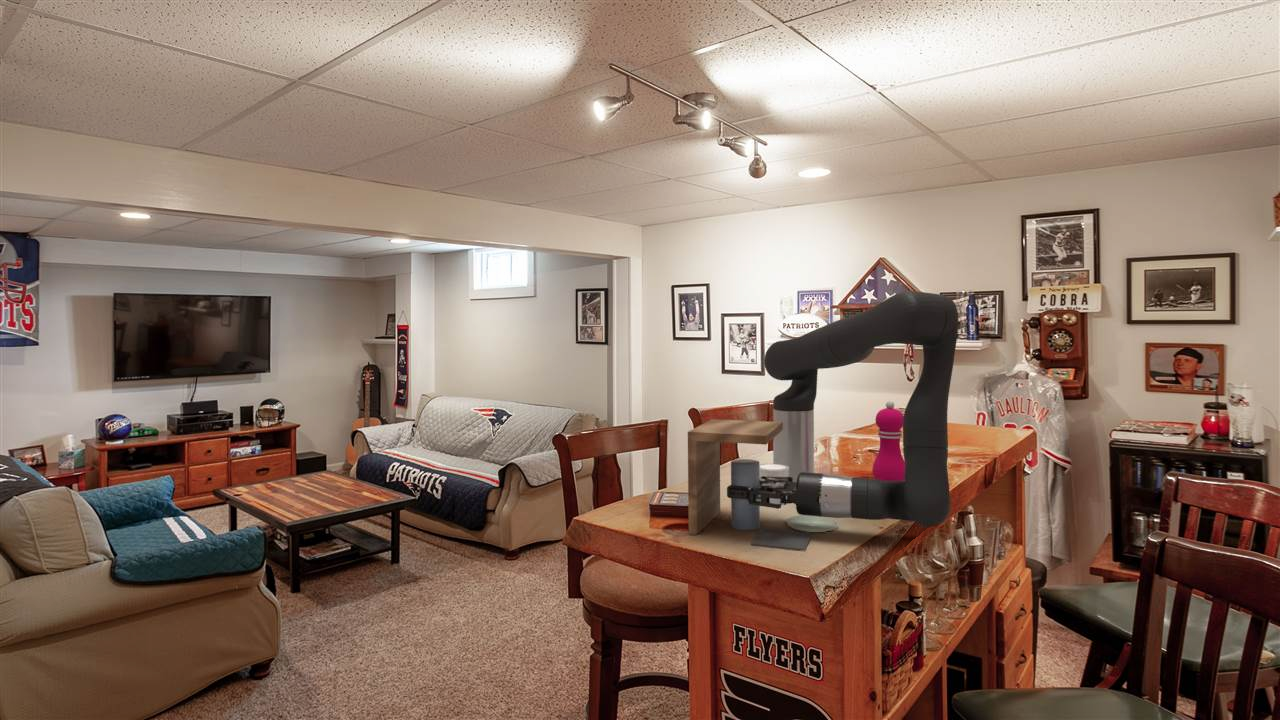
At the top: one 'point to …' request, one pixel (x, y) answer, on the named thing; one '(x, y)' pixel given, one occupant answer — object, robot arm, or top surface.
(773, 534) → the drip mat
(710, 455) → the shelf
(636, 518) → the top surface
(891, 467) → the pepper mill
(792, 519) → the coaster
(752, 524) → the blue pillar candle
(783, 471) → the white cup
